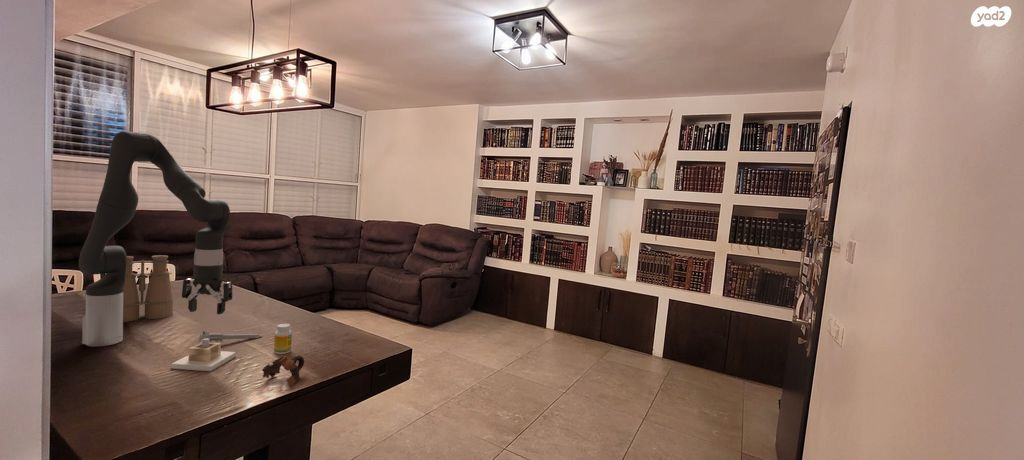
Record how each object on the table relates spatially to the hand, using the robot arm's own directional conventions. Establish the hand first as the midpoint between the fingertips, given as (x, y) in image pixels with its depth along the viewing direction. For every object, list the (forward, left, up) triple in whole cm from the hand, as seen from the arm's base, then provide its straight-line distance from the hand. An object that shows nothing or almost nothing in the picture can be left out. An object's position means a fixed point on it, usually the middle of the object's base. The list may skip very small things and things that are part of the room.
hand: (206, 312), depth 134 cm
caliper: (-3, +18, -17) cm, 25 cm away
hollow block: (0, 0, -15) cm, 15 cm away
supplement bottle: (+18, +13, -17) cm, 28 cm away
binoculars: (-52, +38, -17) cm, 66 cm away
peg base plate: (0, 0, -16) cm, 16 cm away
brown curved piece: (+30, -8, -17) cm, 35 cm away
